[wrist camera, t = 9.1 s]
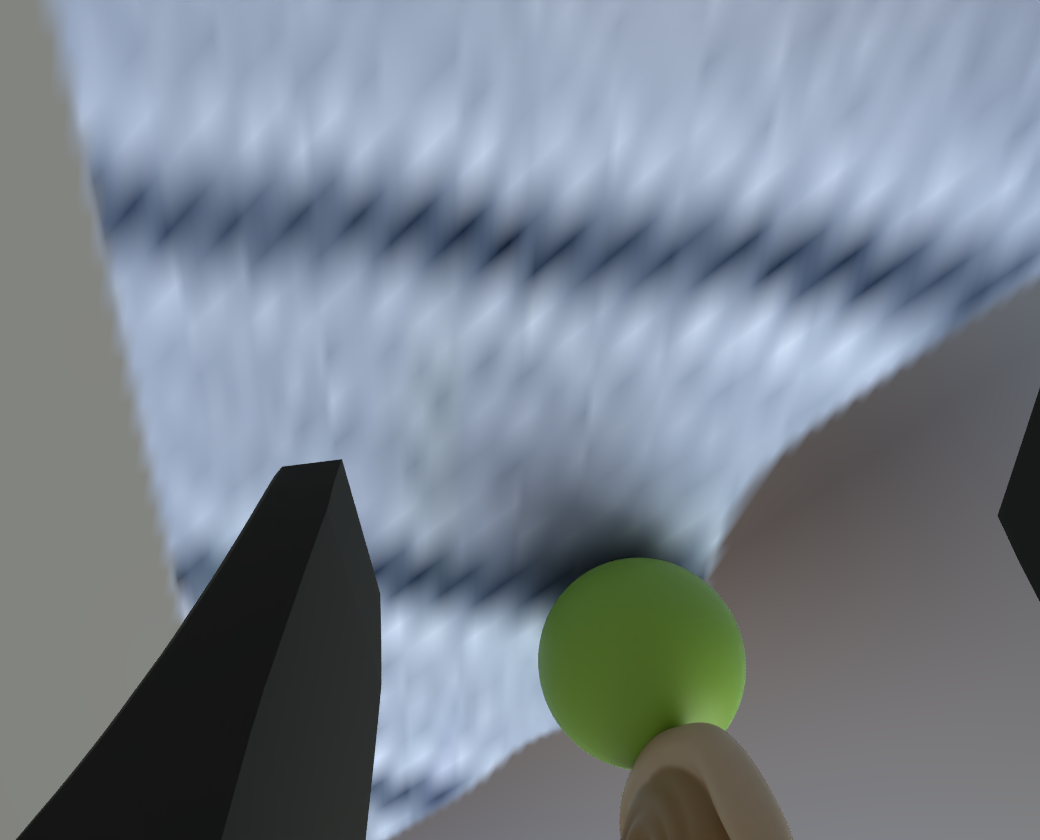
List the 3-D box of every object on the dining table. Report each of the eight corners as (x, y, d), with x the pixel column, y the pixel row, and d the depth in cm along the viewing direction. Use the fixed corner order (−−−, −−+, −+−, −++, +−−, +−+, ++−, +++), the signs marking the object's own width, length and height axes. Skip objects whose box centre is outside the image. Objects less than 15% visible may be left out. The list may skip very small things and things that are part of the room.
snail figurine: (766, 511, 25) (977, 1001, 15) (666, 655, 28) (787, 1124, 19) (585, 471, 23) (695, 985, 14) (503, 628, 27) (546, 1122, 17)
